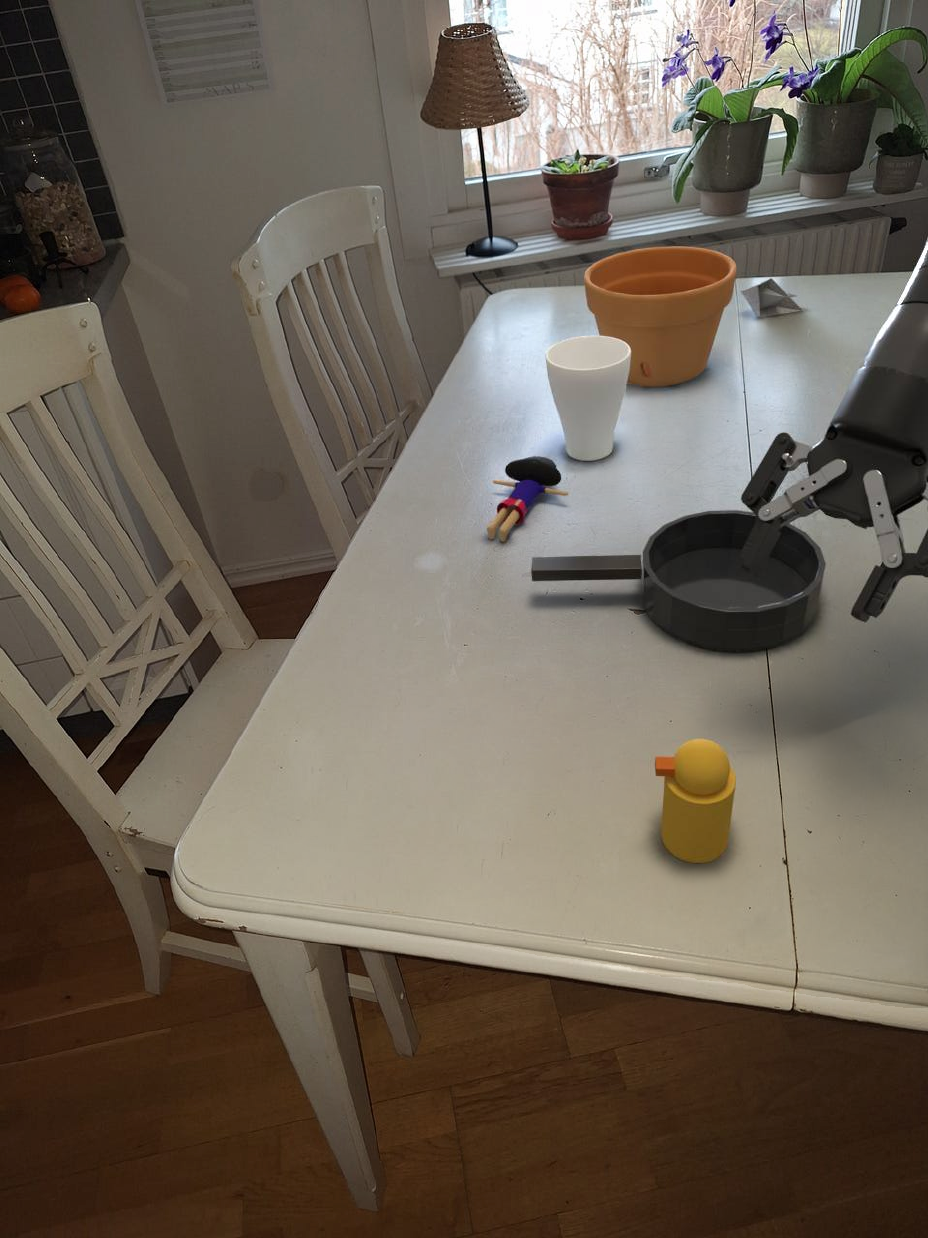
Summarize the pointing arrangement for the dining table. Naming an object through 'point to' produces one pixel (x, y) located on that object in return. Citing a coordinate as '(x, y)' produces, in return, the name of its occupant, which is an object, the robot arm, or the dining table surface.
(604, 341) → the cup
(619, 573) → the pan handle
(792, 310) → the paper boat
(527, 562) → the dining table surface
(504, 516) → the toy
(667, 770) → the yellow duck figurine
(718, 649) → the pan
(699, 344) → the flower pot
